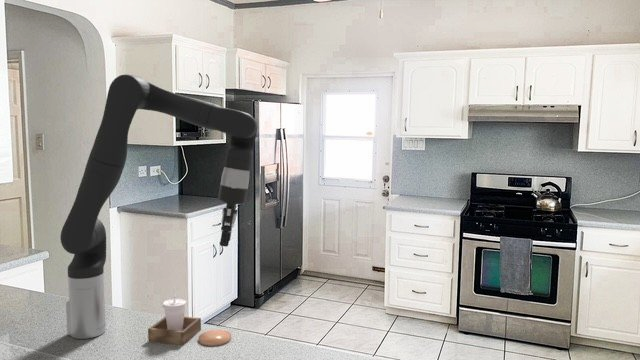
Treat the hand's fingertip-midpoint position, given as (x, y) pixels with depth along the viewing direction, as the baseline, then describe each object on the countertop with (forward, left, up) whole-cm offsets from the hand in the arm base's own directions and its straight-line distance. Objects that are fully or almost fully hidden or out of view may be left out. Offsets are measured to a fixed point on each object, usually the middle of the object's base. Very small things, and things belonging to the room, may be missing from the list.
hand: (224, 243), depth 138 cm
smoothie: (-15, -2, -27) cm, 31 cm away
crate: (-15, -2, -27) cm, 31 cm away
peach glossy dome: (-3, -2, -27) cm, 27 cm away
